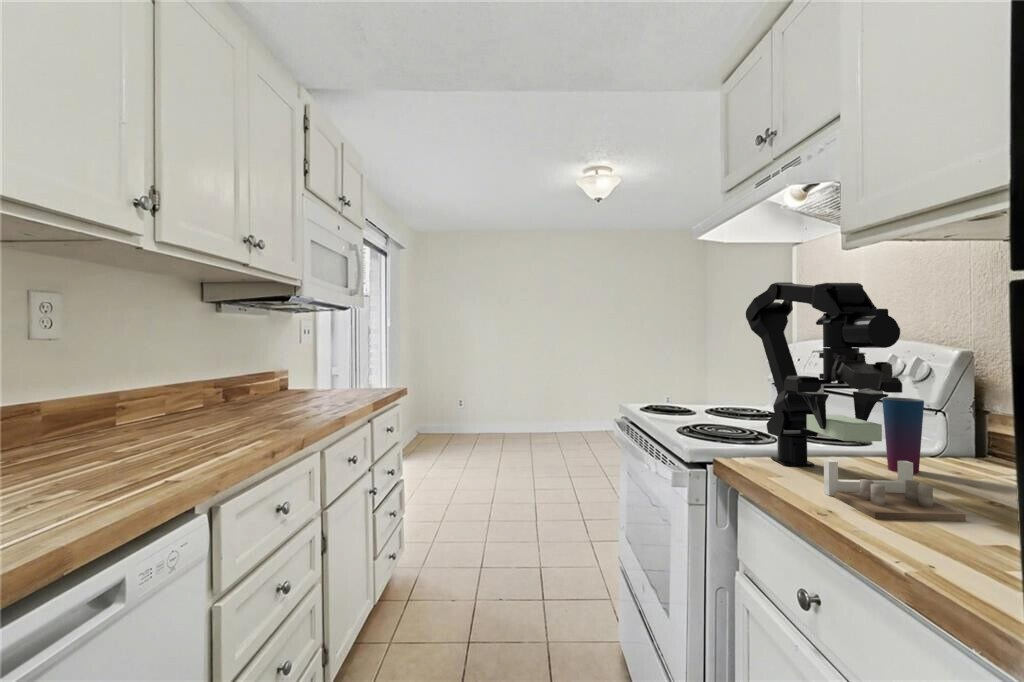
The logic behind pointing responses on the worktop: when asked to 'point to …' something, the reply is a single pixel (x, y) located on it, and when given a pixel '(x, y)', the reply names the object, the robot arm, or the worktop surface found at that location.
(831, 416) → the board
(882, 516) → the peg stand
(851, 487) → the u-shaped frame
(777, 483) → the worktop surface
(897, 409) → the cup
